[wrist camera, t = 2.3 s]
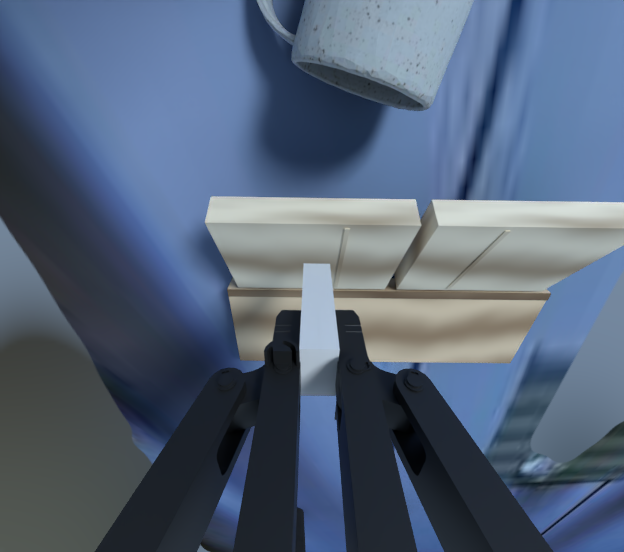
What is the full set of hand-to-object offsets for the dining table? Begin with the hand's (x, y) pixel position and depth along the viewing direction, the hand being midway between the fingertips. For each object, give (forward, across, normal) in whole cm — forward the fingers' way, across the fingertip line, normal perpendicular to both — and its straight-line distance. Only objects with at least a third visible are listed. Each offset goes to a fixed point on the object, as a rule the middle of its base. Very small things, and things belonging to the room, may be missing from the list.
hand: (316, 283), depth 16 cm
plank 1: (+5, 0, 0) cm, 5 cm away
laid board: (+8, +6, -9) cm, 14 cm away
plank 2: (+5, +13, 0) cm, 14 cm away
